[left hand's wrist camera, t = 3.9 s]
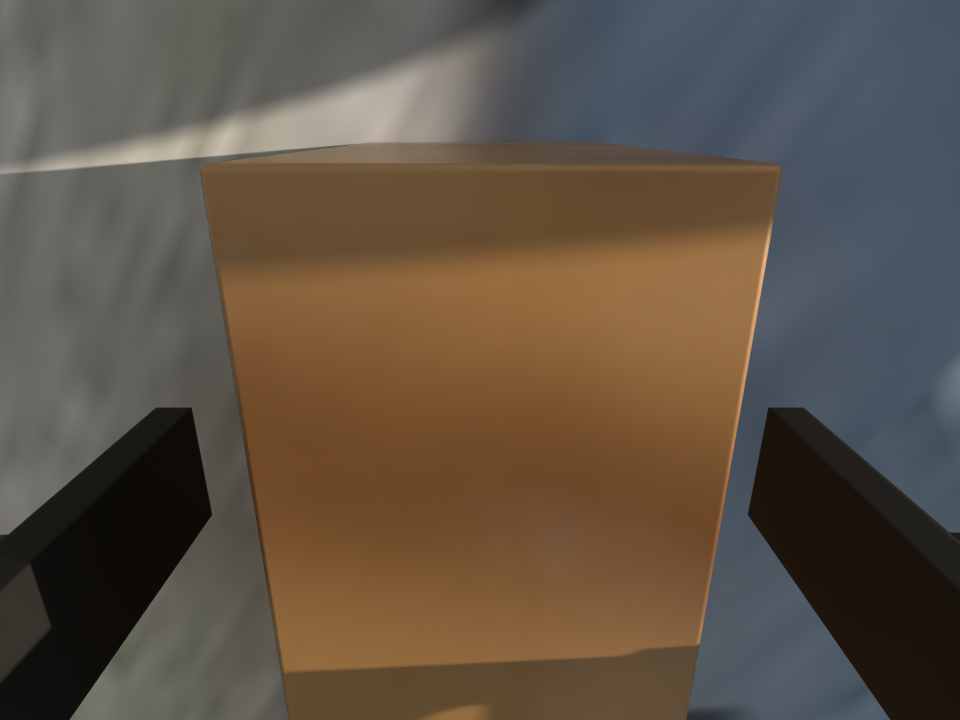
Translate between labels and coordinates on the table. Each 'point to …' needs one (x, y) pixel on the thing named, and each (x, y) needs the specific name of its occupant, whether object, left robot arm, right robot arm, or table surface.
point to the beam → (489, 416)
